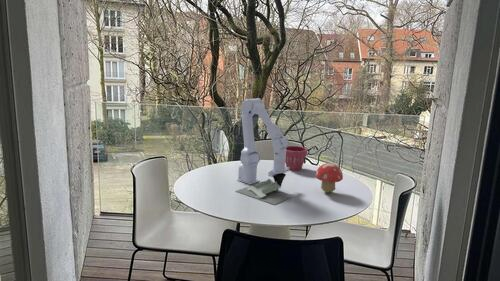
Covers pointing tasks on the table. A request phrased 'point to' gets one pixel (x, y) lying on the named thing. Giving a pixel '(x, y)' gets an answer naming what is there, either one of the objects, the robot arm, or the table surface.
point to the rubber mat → (269, 198)
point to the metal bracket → (264, 188)
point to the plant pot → (295, 157)
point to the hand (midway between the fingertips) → (278, 187)
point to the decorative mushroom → (329, 176)
